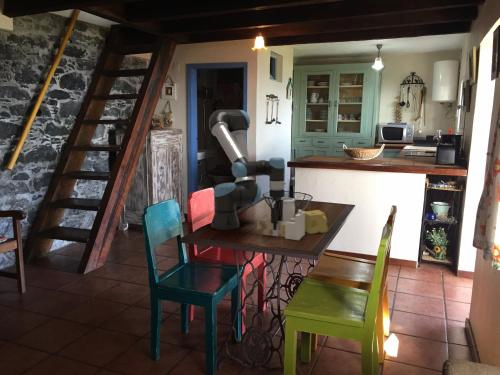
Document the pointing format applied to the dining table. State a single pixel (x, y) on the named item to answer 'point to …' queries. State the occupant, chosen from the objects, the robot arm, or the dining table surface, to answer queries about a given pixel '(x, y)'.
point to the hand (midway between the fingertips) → (277, 234)
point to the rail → (270, 228)
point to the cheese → (315, 222)
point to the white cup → (288, 209)
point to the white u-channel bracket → (295, 226)
